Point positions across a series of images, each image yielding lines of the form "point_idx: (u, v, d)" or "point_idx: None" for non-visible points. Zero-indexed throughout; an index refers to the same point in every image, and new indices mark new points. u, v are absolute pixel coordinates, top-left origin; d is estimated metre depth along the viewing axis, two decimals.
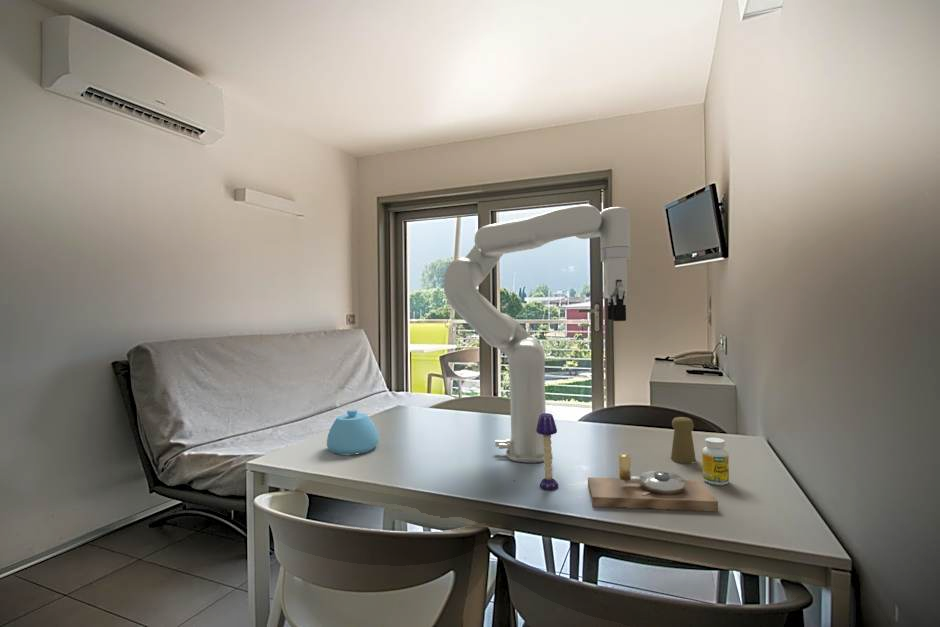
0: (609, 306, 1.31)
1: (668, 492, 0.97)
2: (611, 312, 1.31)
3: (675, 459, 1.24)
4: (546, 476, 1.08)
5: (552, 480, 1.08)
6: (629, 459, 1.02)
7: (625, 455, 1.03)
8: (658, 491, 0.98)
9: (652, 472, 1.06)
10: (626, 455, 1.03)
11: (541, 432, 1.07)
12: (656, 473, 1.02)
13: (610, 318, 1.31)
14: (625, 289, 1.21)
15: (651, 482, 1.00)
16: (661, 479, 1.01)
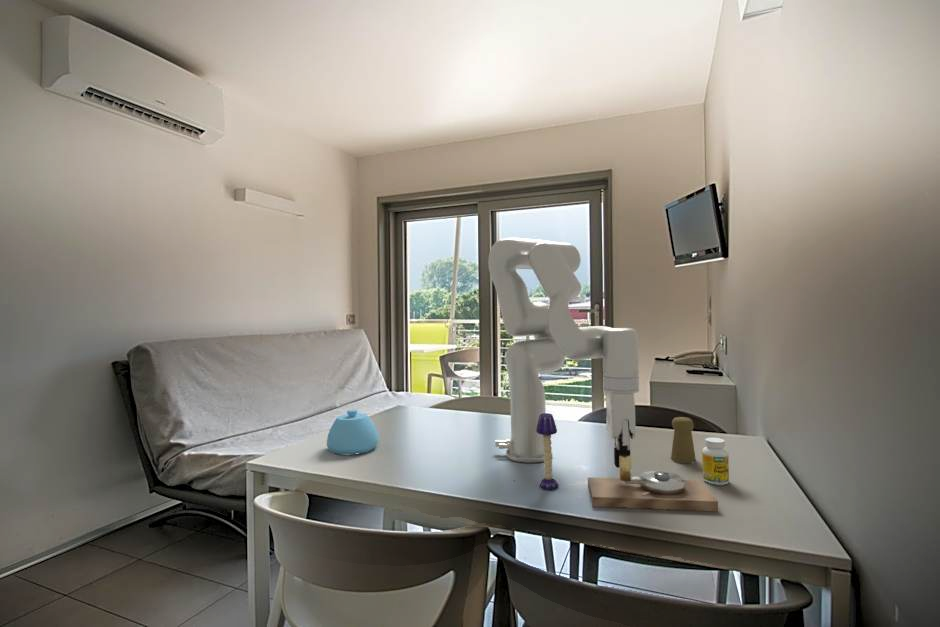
0: None
1: (669, 492, 0.97)
2: (618, 457, 1.06)
3: (675, 459, 1.24)
4: (546, 476, 1.08)
5: (552, 480, 1.08)
6: (630, 460, 1.02)
7: (625, 456, 1.03)
8: (659, 491, 0.98)
9: (651, 472, 1.06)
10: (626, 456, 1.03)
11: (541, 432, 1.07)
12: (656, 473, 1.02)
13: None
14: (633, 431, 1.01)
15: (652, 482, 1.00)
16: (661, 479, 1.01)
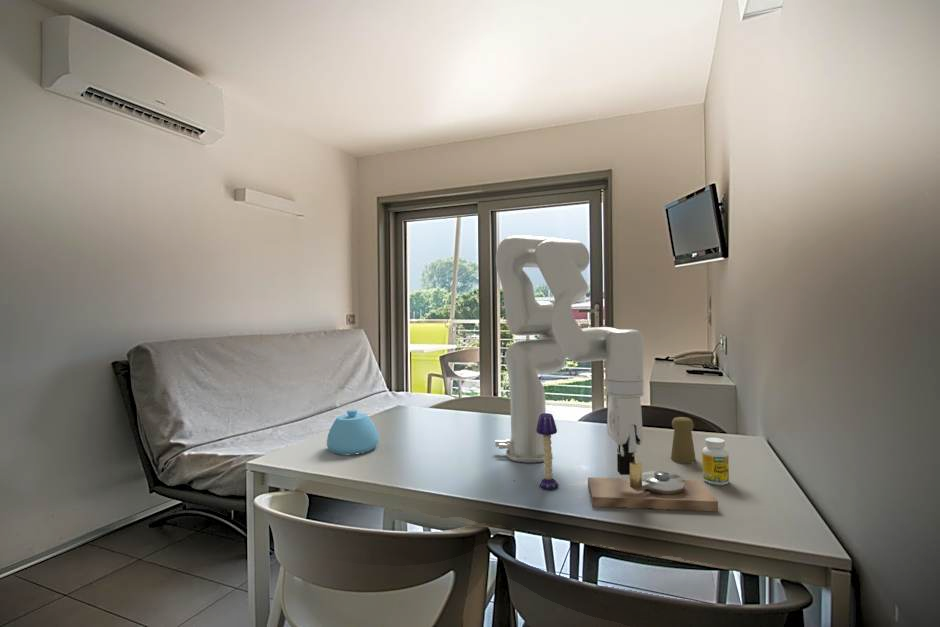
0: None
1: (680, 491, 0.98)
2: None
3: (675, 459, 1.24)
4: (546, 476, 1.08)
5: (552, 480, 1.08)
6: (641, 465, 0.98)
7: (635, 462, 0.99)
8: (672, 492, 0.98)
9: (645, 474, 1.05)
10: (636, 462, 0.99)
11: (541, 432, 1.07)
12: (658, 474, 1.01)
13: None
14: (640, 436, 0.97)
15: (662, 484, 0.98)
16: (666, 479, 1.01)
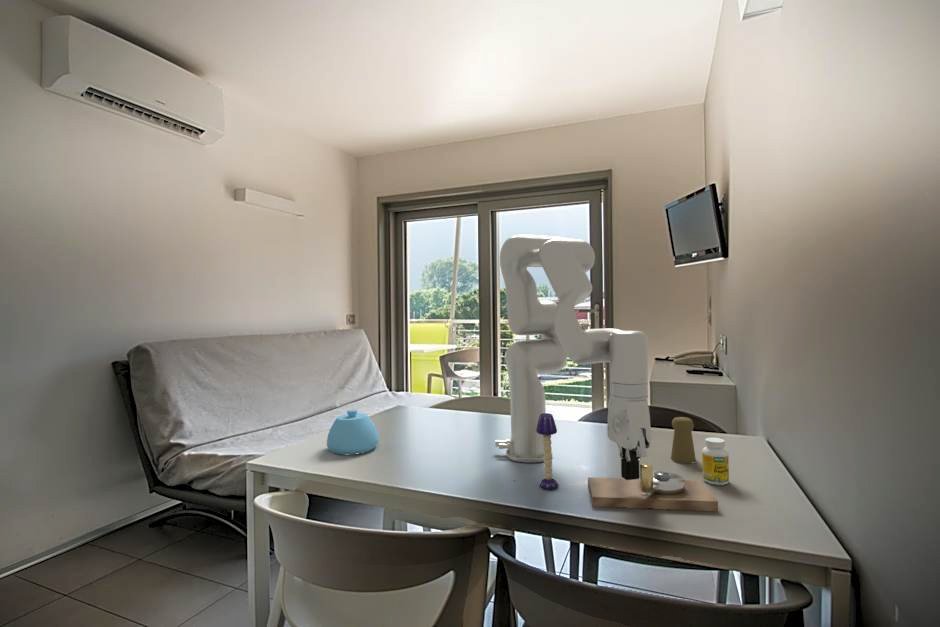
0: None
1: (684, 489, 0.99)
2: None
3: (675, 459, 1.24)
4: (546, 476, 1.08)
5: (552, 480, 1.08)
6: None
7: (646, 465, 0.97)
8: (679, 491, 0.98)
9: None
10: (646, 465, 0.97)
11: (541, 432, 1.07)
12: (659, 475, 1.01)
13: None
14: (650, 440, 0.95)
15: (669, 485, 0.98)
16: (667, 479, 1.01)
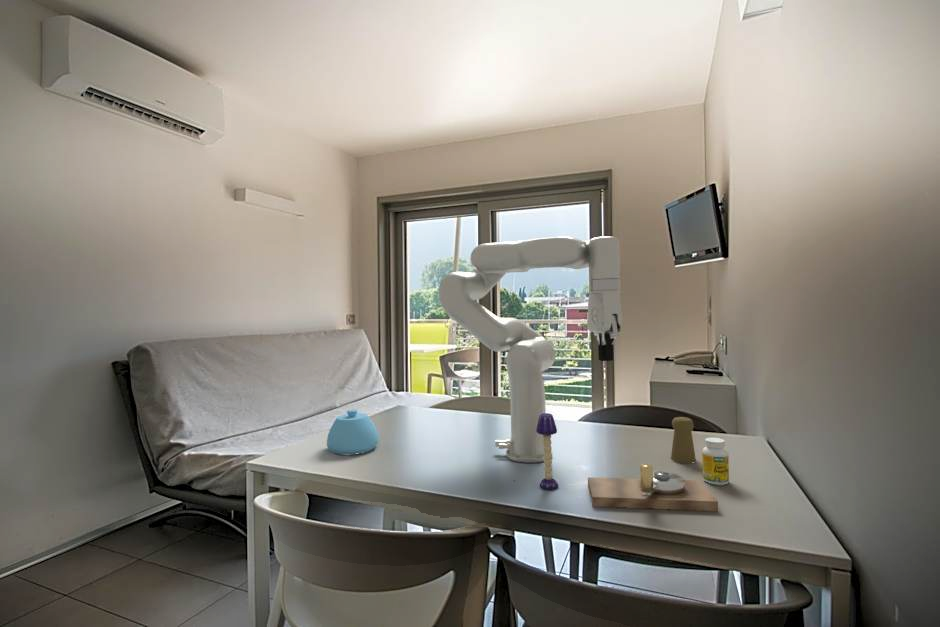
0: None
1: (684, 489, 0.99)
2: None
3: (675, 459, 1.24)
4: (546, 476, 1.08)
5: (552, 480, 1.08)
6: None
7: (646, 465, 0.97)
8: (679, 491, 0.98)
9: None
10: (646, 465, 0.97)
11: (541, 432, 1.07)
12: (659, 475, 1.01)
13: None
14: (621, 324, 1.15)
15: (669, 485, 0.98)
16: (667, 479, 1.01)
